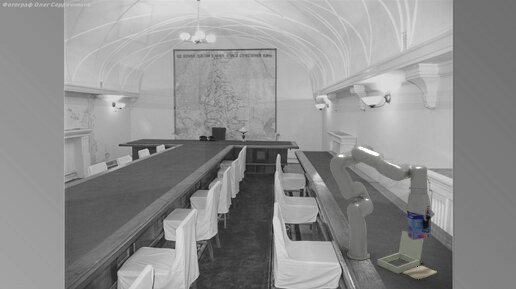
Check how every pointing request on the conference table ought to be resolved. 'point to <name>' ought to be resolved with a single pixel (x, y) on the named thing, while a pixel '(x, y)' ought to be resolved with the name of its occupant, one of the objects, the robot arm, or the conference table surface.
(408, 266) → the case
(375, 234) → the conference table surface
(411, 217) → the ink cartridge box
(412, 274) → the board
